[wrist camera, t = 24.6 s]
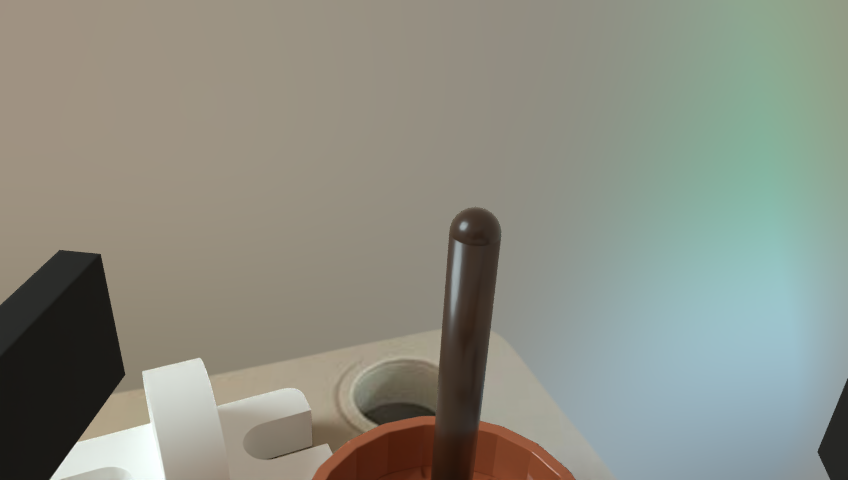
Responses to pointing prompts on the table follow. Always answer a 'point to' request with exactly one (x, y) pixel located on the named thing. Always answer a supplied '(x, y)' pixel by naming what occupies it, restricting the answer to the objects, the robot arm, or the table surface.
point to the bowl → (413, 449)
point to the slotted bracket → (203, 436)
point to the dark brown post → (464, 341)
